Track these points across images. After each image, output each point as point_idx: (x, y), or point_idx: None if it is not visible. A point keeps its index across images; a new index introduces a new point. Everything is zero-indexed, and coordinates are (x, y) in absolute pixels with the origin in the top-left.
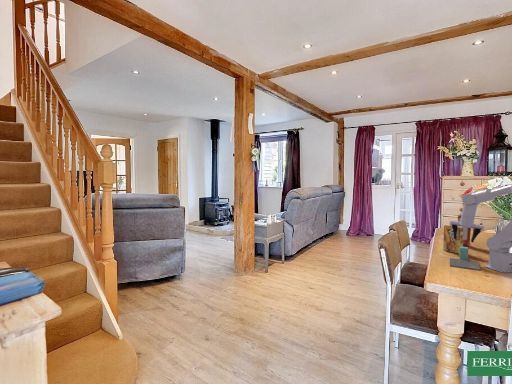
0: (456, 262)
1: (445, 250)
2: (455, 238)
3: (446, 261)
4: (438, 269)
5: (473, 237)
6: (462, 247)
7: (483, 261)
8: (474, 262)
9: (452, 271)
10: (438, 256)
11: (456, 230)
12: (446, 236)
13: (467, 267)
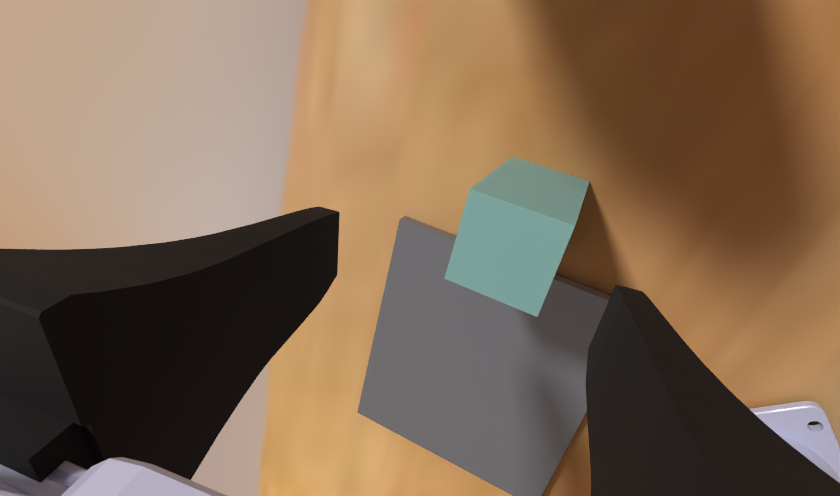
0: (417, 355)
1: None
2: (325, 284)
3: (363, 297)
4: (294, 457)
5: (597, 461)
6: (482, 253)
7: (749, 251)
8: (579, 348)
9: (356, 492)
10: (327, 141)
11: (196, 446)
12: None
13: (457, 464)
